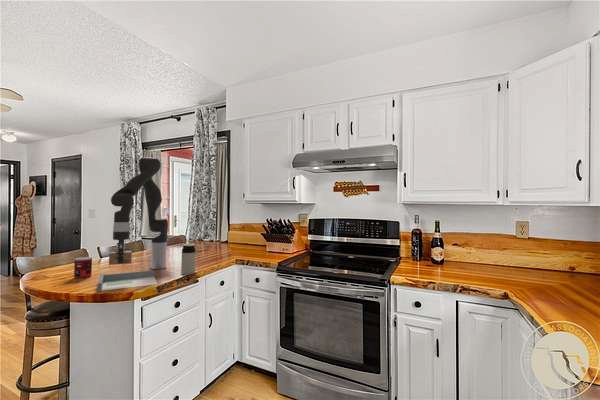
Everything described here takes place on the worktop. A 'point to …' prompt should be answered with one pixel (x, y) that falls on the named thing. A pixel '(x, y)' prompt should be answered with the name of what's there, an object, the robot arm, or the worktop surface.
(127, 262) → the walnut block
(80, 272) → the canned food
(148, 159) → the robot arm
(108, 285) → the tray
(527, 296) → the worktop surface
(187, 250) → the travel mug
